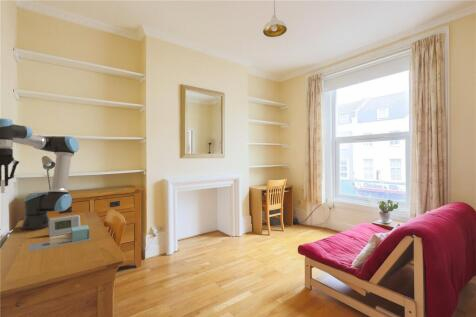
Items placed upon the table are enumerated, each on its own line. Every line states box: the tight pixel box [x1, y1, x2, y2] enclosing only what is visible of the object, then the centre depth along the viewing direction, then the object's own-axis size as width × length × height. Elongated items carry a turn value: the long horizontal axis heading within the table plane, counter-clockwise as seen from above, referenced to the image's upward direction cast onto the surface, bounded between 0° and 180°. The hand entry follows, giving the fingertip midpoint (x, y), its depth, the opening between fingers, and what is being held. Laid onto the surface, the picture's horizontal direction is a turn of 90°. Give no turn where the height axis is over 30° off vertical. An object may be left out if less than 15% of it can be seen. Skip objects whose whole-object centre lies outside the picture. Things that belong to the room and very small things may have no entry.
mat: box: [27, 236, 92, 252], centre depth 131 cm, size 12×27×1 cm, turn 129°
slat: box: [49, 233, 72, 245], centre depth 133 cm, size 4×14×3 cm, turn 129°
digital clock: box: [48, 214, 81, 238], centre depth 147 cm, size 16×9×11 cm, turn 121°
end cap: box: [70, 224, 90, 242], centre depth 137 cm, size 9×8×6 cm
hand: (3, 192), depth 124 cm, fingers closed
